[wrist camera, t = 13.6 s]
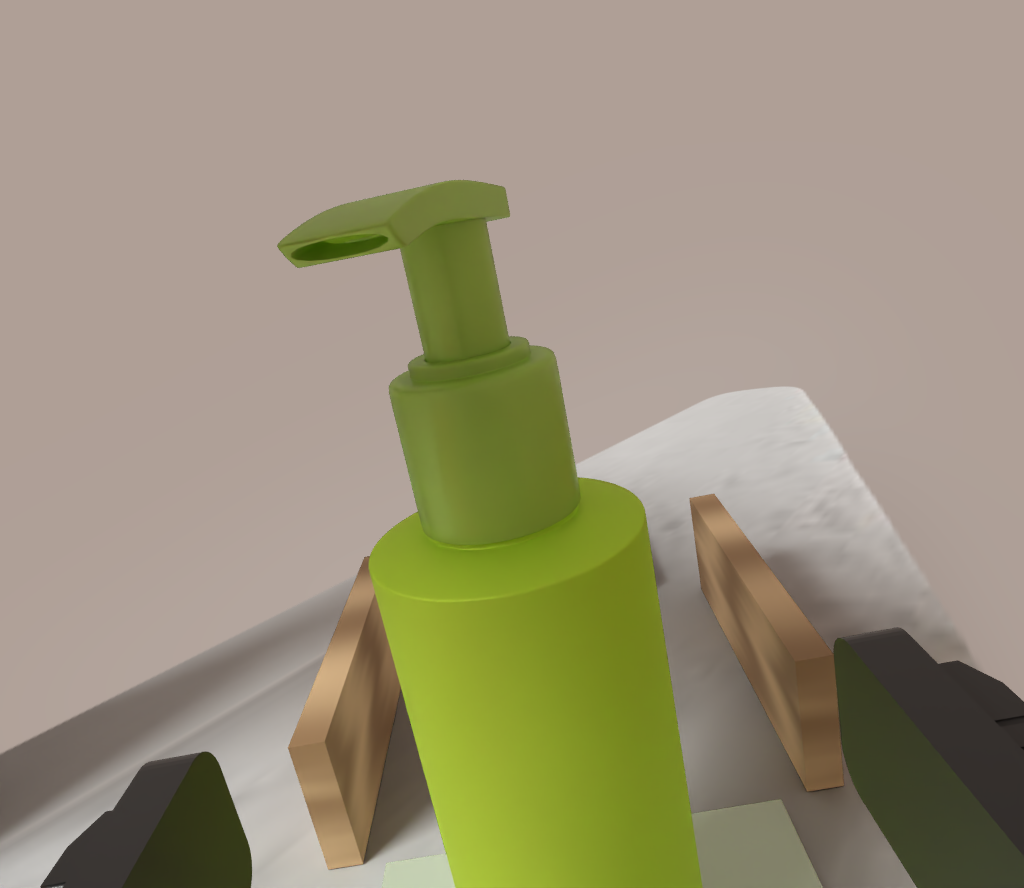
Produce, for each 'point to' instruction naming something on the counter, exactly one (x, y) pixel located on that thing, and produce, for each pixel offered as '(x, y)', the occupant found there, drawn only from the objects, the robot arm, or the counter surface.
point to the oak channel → (375, 686)
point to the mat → (720, 847)
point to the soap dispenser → (514, 584)
